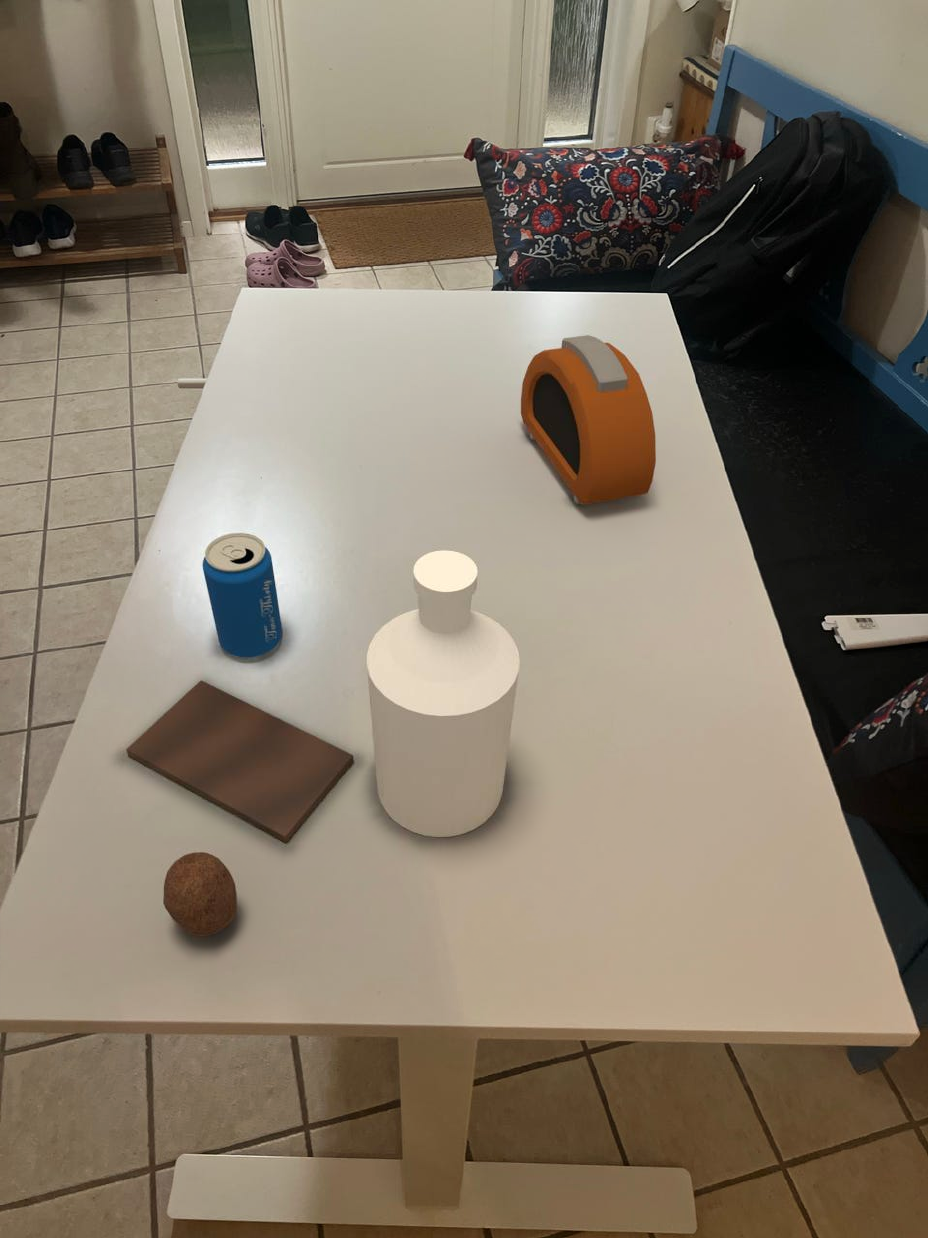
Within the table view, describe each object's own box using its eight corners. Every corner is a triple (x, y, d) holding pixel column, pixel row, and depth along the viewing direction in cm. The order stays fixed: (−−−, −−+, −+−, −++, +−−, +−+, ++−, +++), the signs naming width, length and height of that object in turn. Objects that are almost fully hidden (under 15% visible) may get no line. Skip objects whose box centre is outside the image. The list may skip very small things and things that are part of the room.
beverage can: (254, 672, 89) (237, 581, 81) (206, 647, 91) (185, 556, 83) (296, 634, 93) (283, 545, 85) (249, 611, 95) (232, 522, 87)
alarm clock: (516, 425, 125) (525, 310, 114) (574, 416, 127) (589, 303, 116) (583, 522, 109) (602, 400, 98) (649, 510, 111) (674, 389, 100)
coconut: (255, 922, 70) (240, 867, 64) (197, 964, 67) (177, 910, 62) (220, 877, 72) (203, 821, 67) (163, 915, 70) (140, 860, 64)
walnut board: (128, 756, 81) (125, 749, 80) (202, 686, 87) (201, 679, 87) (286, 843, 75) (285, 837, 74) (354, 761, 81) (353, 755, 81)
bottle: (427, 712, 86) (428, 501, 69) (530, 771, 81) (560, 560, 64) (346, 794, 79) (326, 581, 62) (455, 864, 74) (466, 654, 57)
